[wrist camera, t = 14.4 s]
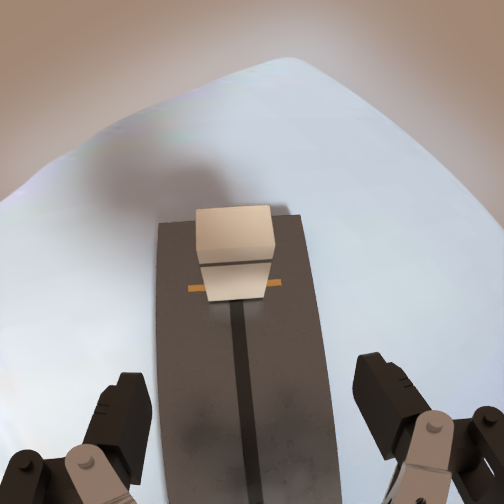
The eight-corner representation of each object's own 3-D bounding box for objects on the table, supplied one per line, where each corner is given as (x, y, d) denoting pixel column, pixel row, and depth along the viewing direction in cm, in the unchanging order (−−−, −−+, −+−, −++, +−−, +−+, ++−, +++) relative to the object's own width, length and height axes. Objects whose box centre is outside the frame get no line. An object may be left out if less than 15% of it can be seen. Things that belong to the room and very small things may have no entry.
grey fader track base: (338, 557, 16) (346, 567, 14) (187, 573, 15) (184, 584, 13) (296, 226, 29) (300, 213, 28) (163, 235, 28) (158, 222, 27)
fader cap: (263, 297, 24) (275, 245, 17) (208, 301, 23) (195, 250, 16) (260, 266, 25) (269, 204, 18) (206, 269, 25) (195, 209, 17)
